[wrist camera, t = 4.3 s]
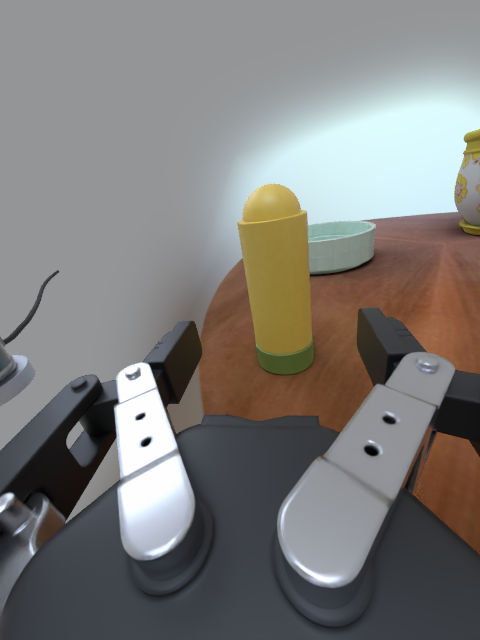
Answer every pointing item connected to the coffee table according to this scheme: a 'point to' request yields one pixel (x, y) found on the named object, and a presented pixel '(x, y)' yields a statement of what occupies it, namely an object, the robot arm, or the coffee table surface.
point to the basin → (339, 245)
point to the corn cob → (278, 278)
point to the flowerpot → (469, 185)
